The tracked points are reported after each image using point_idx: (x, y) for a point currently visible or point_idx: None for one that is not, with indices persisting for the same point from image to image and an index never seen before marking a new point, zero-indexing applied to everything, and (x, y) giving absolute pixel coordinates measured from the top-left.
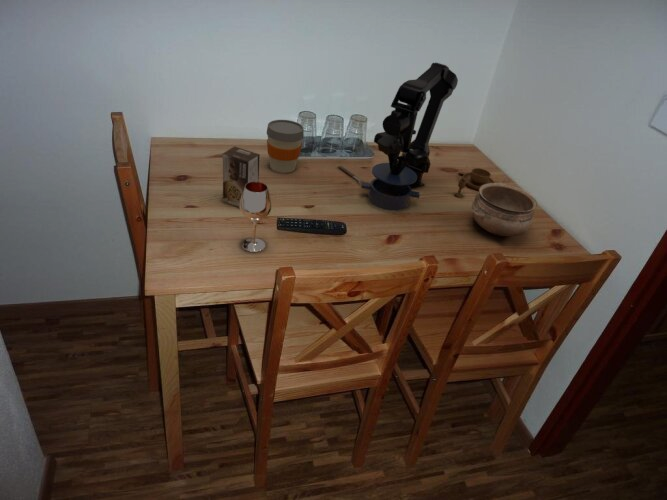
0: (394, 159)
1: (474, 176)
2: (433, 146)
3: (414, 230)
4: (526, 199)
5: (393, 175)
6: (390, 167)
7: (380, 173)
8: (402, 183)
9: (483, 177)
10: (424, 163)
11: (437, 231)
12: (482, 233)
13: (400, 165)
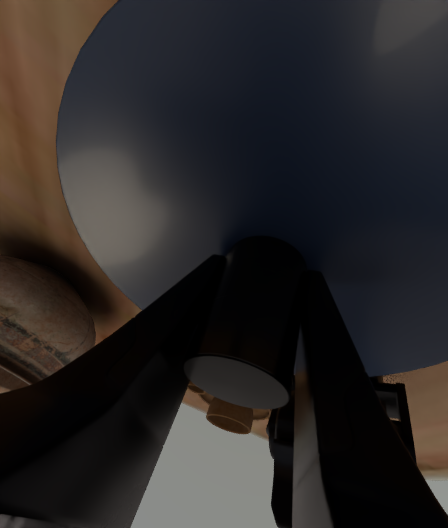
0: (302, 408)
1: (229, 410)
2: (430, 469)
3: (20, 42)
4: (13, 379)
5: (232, 223)
6: (318, 293)
7: (363, 117)
8: (68, 174)
9: (209, 412)
10: (270, 422)
11: (27, 144)
12: (35, 250)
13: (106, 338)
